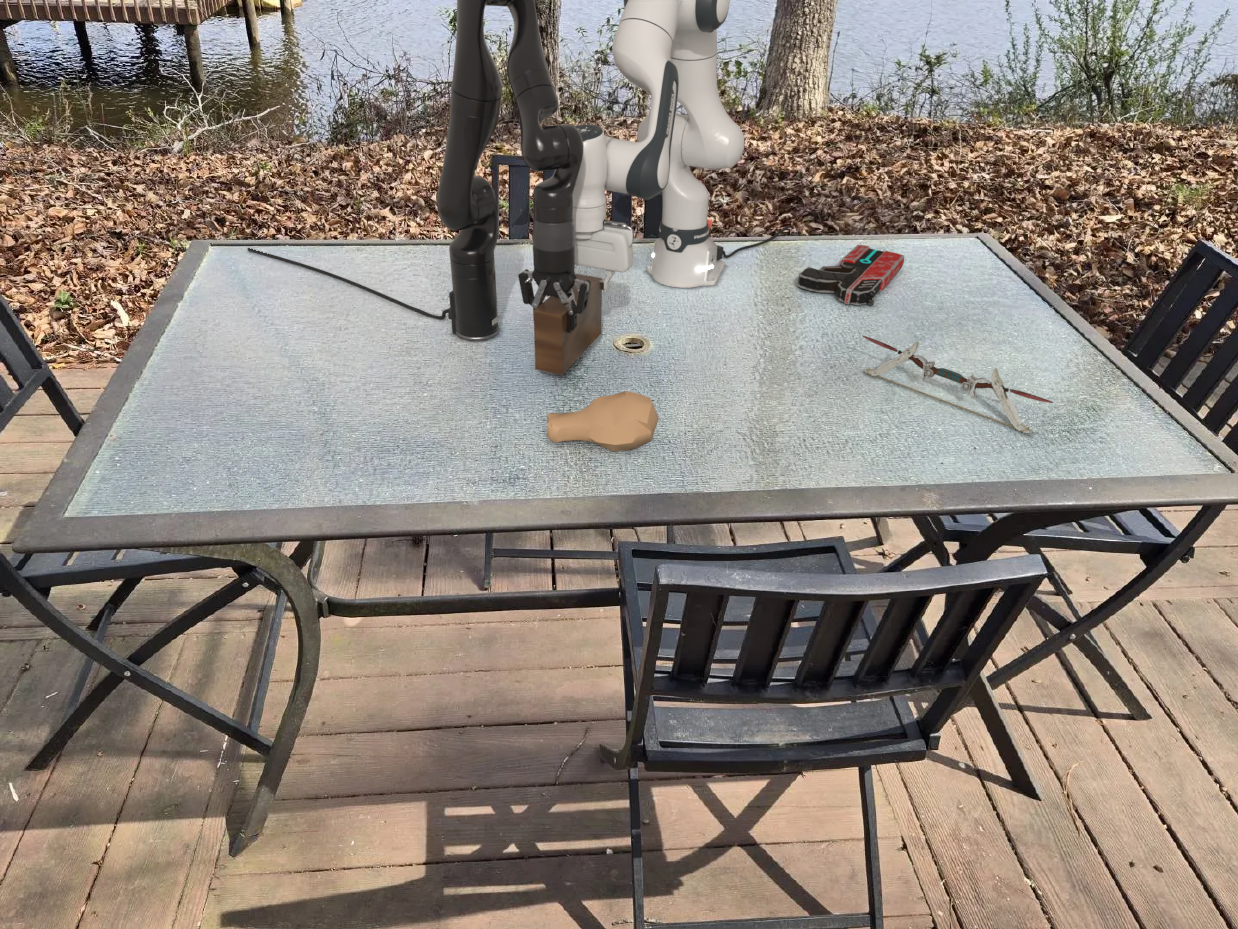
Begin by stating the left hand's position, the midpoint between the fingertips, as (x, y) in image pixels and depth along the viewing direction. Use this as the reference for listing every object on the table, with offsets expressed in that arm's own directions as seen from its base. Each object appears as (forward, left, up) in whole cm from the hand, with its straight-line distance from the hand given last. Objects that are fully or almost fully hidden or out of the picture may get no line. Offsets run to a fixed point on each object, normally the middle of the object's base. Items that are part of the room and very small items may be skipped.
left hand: (555, 327), depth 167 cm
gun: (+46, +80, -12) cm, 93 cm away
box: (0, +7, -8) cm, 10 cm away
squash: (+16, -16, -12) cm, 26 cm away
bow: (+72, +24, -12) cm, 77 cm away
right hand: (0, +13, +4) cm, 14 cm away
